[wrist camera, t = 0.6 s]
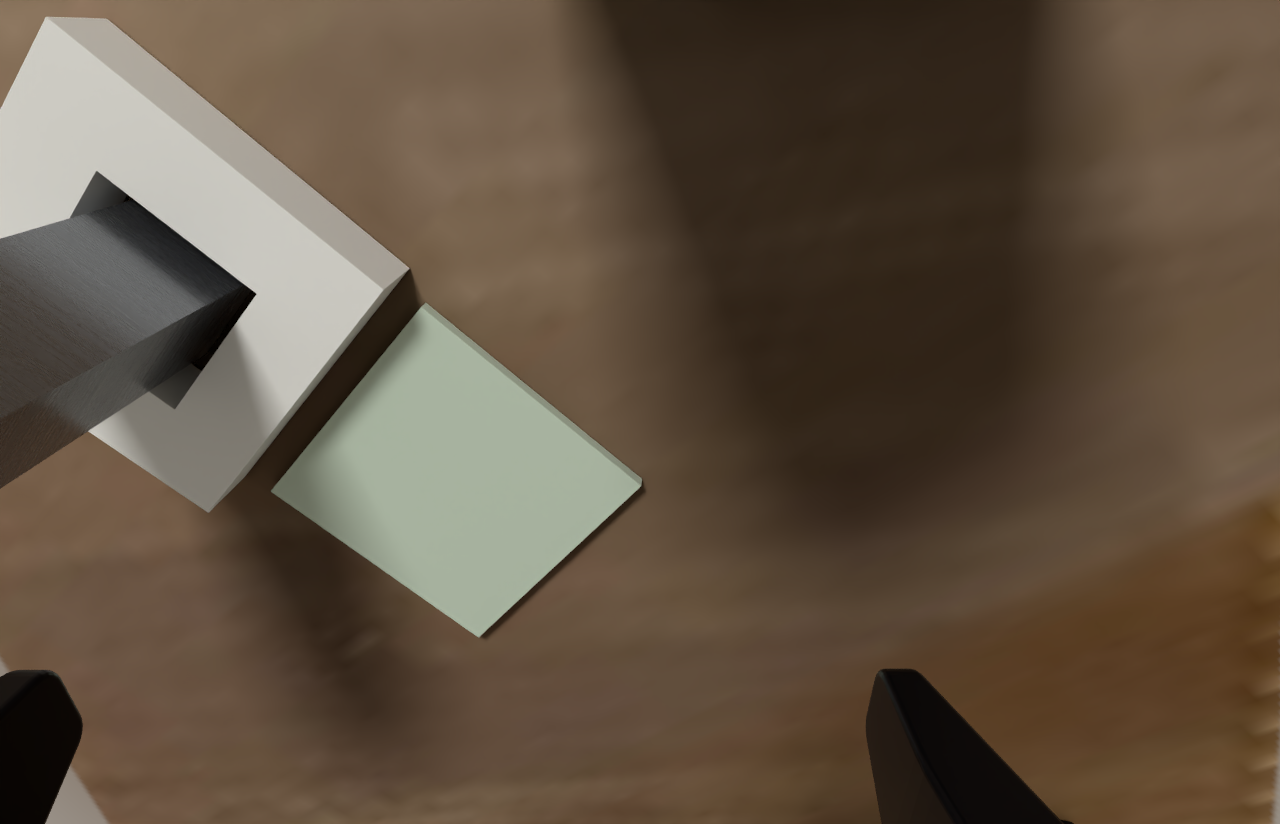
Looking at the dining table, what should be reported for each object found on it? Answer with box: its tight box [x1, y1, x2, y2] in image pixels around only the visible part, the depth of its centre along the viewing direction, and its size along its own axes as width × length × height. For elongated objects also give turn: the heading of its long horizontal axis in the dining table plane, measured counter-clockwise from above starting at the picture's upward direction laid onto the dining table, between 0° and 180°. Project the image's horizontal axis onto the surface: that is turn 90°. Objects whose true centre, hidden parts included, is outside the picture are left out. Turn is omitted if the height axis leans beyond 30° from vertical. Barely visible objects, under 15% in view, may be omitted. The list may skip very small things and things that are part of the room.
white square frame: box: [0, 17, 410, 513], centre depth 21 cm, size 9×9×2 cm
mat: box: [271, 303, 642, 637], centre depth 24 cm, size 8×8×1 cm
